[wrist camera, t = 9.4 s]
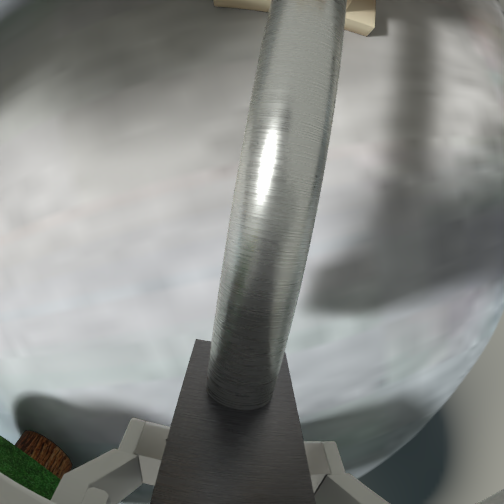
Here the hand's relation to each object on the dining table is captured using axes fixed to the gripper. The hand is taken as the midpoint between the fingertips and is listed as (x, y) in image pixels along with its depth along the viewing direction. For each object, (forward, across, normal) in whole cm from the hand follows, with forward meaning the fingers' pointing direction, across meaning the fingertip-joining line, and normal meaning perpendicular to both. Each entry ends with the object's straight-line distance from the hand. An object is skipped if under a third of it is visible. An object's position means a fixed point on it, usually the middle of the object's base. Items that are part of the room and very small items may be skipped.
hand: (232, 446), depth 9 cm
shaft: (+5, 0, -10) cm, 11 cm away
